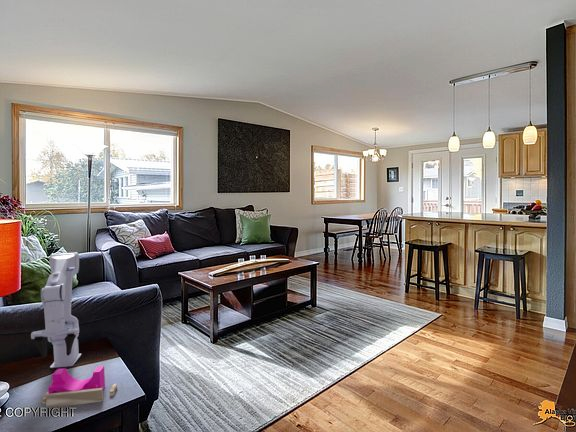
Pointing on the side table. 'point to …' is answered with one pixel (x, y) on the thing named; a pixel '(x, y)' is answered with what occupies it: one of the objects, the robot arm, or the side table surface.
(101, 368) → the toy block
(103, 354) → the side table surface
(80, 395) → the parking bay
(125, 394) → the side table surface
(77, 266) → the robot arm
